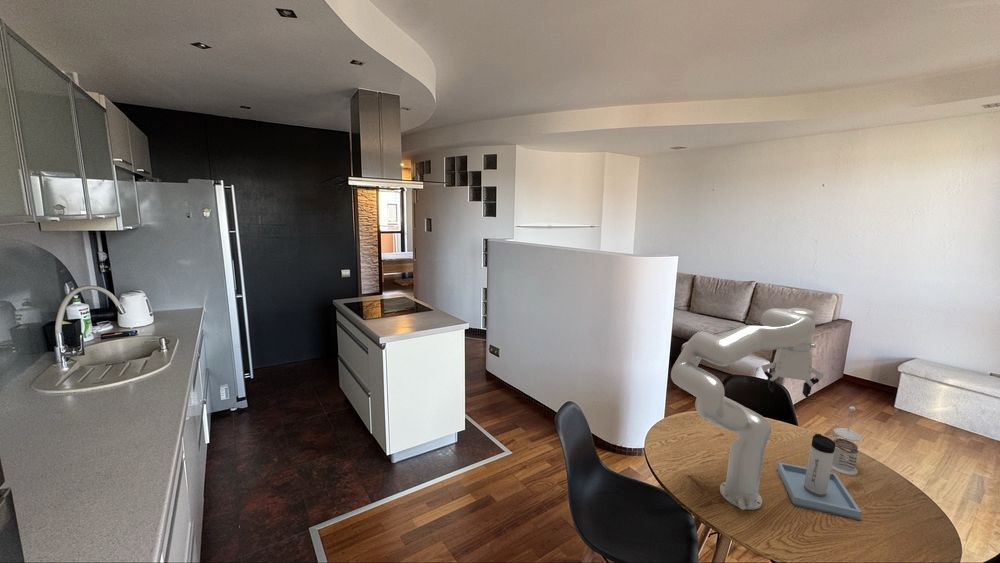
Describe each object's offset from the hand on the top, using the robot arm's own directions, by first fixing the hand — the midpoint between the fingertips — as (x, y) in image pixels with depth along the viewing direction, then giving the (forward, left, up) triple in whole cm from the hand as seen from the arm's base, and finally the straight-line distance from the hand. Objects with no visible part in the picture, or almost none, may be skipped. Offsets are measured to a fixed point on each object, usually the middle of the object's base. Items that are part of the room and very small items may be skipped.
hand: (788, 392), depth 136 cm
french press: (+23, -27, -36) cm, 51 cm away
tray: (+2, -13, -36) cm, 39 cm away
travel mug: (+2, -13, -36) cm, 38 cm away
